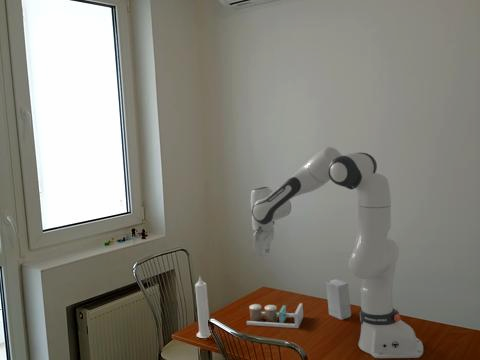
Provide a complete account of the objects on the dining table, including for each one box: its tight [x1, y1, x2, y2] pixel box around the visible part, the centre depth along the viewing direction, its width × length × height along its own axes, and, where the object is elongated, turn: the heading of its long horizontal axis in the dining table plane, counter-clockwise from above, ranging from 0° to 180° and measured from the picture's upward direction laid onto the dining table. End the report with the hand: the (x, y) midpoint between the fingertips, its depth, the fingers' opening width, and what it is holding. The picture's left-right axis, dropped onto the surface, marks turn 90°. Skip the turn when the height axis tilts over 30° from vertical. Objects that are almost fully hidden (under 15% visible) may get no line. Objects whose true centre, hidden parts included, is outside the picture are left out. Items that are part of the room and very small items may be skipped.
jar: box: [249, 303, 263, 322], centre depth 206 cm, size 5×5×6 cm
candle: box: [194, 276, 211, 339], centre depth 193 cm, size 7×7×25 cm
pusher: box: [278, 304, 289, 323], centre depth 202 cm, size 3×8×5 cm, turn 162°
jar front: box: [264, 304, 278, 323], centre depth 204 cm, size 5×5×6 cm
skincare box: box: [325, 278, 352, 321], centre depth 203 cm, size 8×6×15 cm
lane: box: [246, 302, 304, 329], centre depth 204 cm, size 22×11×6 cm, turn 72°
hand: (264, 255), depth 207 cm, fingers open, 8 cm apart
